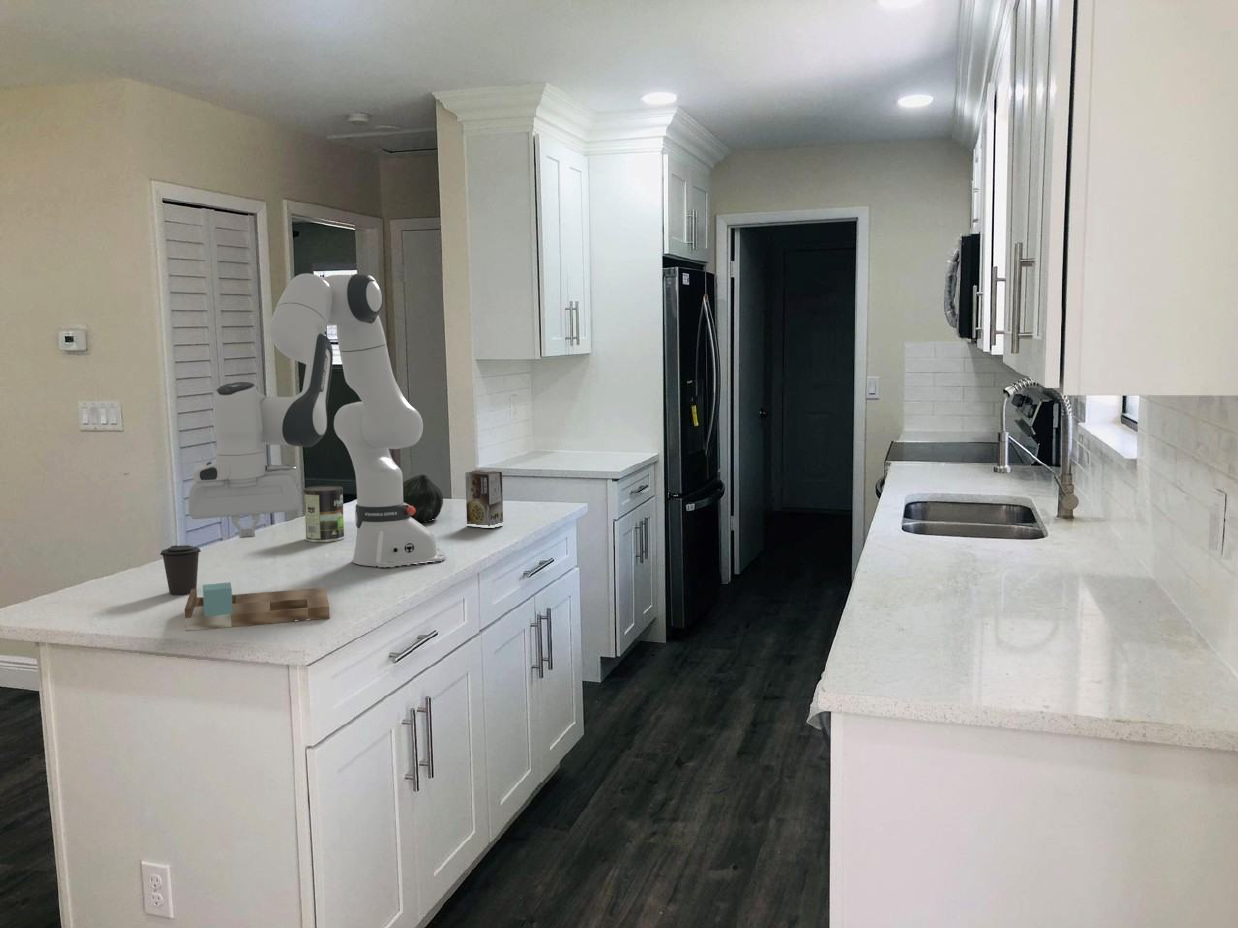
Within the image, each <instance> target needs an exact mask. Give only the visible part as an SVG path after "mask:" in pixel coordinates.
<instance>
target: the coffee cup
mask: <svg viewBox="0 0 1238 928" xmlns="http://www.w3.org/2000/svg"><path fill="white" fill-rule="evenodd" d="M200 552H202V551H201V549H200V548H199V547H197V546H192V545H187V544H186V545H185V544H184V545H171V546H170V547H168V548H165V549H163V550H161V552H160V553H159V554H160V556H162V557H163V563H164V570H165V575H166V581H167V588H168V593H169V594H170V595H171V596H185V595H190V592H191V589H197V584H198V570H199V568H198V567H199V557H200V556H199V555H200V554H199V553H200Z"/></svg>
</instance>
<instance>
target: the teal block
mask: <svg viewBox="0 0 1238 928" xmlns="http://www.w3.org/2000/svg"><path fill="white" fill-rule="evenodd" d="M232 595H233V592H232V583H231V582H229V581H228V582H219V583H209V584H207V583H206V584H202V597H203V601H204V617H206V616H216V615H226V614H233V608H232Z"/></svg>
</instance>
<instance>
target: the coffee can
mask: <svg viewBox="0 0 1238 928" xmlns="http://www.w3.org/2000/svg"><path fill="white" fill-rule="evenodd" d="M343 491H344V488H343V486H340V485H317V486H308V487H305V488H304V489H303V494H304V499H303V500H304V517H305V518H304V519H305V522H304V523H305V541H306V542H311V543H332V542H338V541H341V540H344V539H345V526H344V525H345V523H344V519H345V518H344V496H343V495H344V494H343V493H344V492H343Z"/></svg>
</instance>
